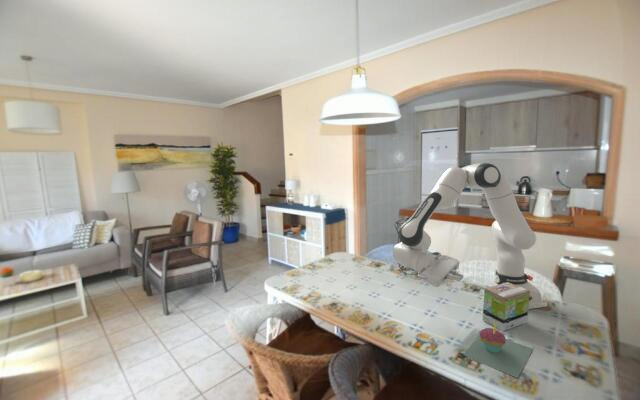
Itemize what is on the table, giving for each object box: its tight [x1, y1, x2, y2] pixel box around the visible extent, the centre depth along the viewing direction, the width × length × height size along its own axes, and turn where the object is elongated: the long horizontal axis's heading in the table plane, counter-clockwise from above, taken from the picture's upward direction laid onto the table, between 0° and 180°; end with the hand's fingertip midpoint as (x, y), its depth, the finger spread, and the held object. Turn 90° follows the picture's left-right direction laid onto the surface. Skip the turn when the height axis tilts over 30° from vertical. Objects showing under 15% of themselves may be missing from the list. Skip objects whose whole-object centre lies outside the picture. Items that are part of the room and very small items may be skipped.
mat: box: [462, 335, 534, 379], centre depth 109 cm, size 20×20×1 cm
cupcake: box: [478, 321, 507, 353], centre depth 109 cm, size 9×8×12 cm
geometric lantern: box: [393, 215, 419, 275], centre depth 182 cm, size 16×16×35 cm
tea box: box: [482, 282, 530, 332], centre depth 125 cm, size 15×10×15 cm, turn 114°
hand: (461, 278), depth 116 cm, fingers closed
